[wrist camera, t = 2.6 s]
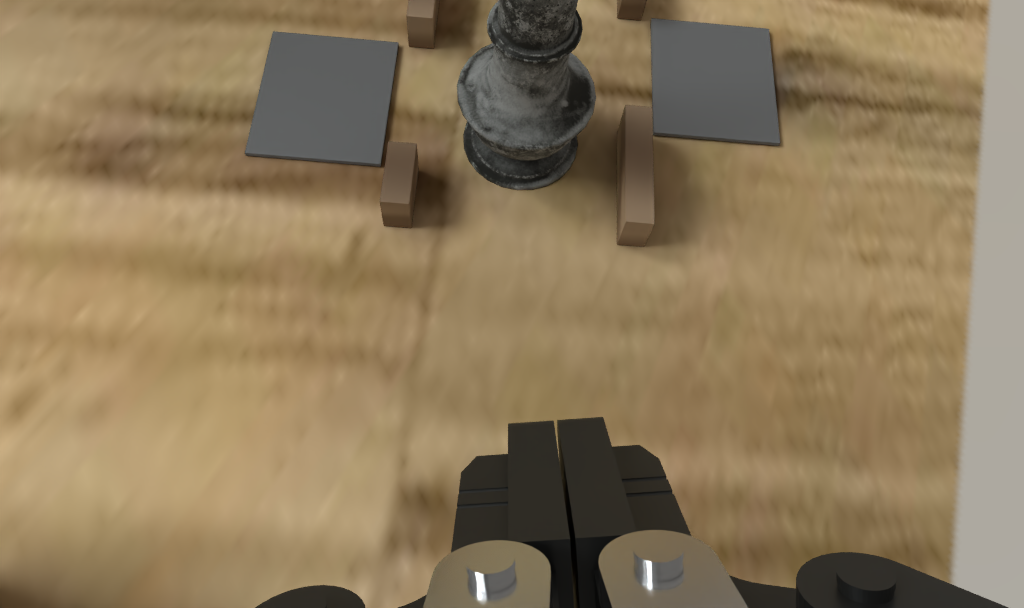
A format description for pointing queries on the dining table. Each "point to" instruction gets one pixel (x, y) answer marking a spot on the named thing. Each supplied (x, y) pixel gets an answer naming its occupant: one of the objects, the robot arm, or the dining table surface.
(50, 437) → the dining table surface
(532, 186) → the grey chess piece
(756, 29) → the pads
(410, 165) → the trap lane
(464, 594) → the robot arm
